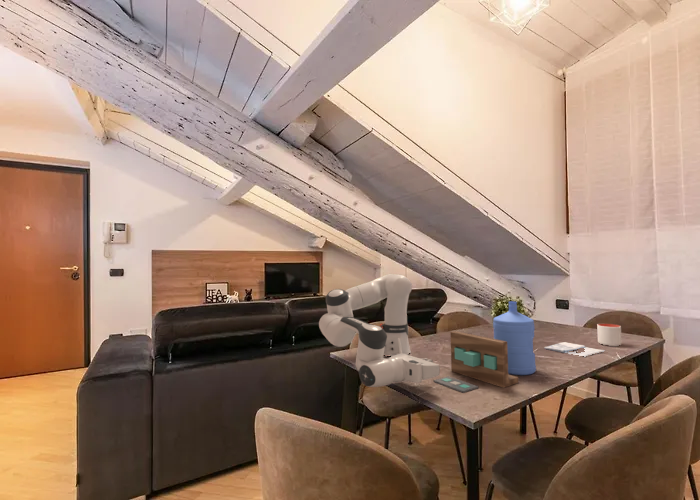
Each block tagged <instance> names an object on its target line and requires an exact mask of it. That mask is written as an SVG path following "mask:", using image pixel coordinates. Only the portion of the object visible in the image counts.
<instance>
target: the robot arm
mask: <svg viewBox="0 0 700 500" xmlns="http://www.w3.org/2000/svg"><path fill="white" fill-rule="evenodd" d="M412 288H413V285H412V281H411V280H410V278H408V277H407V276H405V275H403V274H397V273H396V274H395V273H388V274H385V275H382V276H379V277H378V278H375V279H373V280H371V281H368V282H364V283H362V284H359V285H355V286H352V287H350V288H347V289H346V290H344V289H341V288H335V289H332V290H330V291H329V292H327V294H326V295H325V304H326V309H327V313H324V314H323V315H322V316H321V317H320V319H319V321H318V327H319V330H320V332H321V334H322V335H323V336H324V337H325V338H326V340H327V341H328V342H329V343H330V344H331V345H333V346H335V347H338V348H341V347H346V346H348V345H349V344H350V343H352V342H353V340H354V338H355V336H356V333H357V335H358V341H357V342H358V344H357V350H356V356H355V369H356V370H357V372H358V375H359V379H360V382H361V383H362V384H363V386H366V387H368V388H379V387H380V388H381V387H385V386H389V385H391V384H392V383H401V382H411V383H416V384H419V383H422V382H423V380H424V381H425V380H430V379H433V378H437V377H439V376H440V373H441V367H440V364H438V363H435V362H433V359H430V358H427V357H425V358H419V357H416V356H413V355H410V354H411V353H412V351H411V347H410V343H409V324H408V315H407V311H408V303H409V298H410V294H411V292H412V290H413V289H412ZM384 299H386V303H385V306H384V323H380V324H379V325H375V324H371V323H368V322H366V321H364V320H361V319H358V318H356V317H354V314H353V311H356V310H359V309H362V308H365V307H366V308H367V307H369V306H372V305H375V304H377V303H379V302H380V301H383V300H384ZM409 353H410V354H409ZM383 355H390V356H391V357H388V358H386V357H384V356H383Z"/></svg>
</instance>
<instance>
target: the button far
mask: <svg viewBox="0 0 700 500" xmlns="http://www.w3.org/2000/svg"><path fill="white" fill-rule="evenodd" d="M464 352H466V349H464V348H460V347H456V348H455V359H457V360H461V361H464V358H463V353H464Z"/></svg>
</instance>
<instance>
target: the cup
mask: <svg viewBox="0 0 700 500" xmlns="http://www.w3.org/2000/svg"><path fill="white" fill-rule="evenodd" d="M596 325H597V329H596V330H597V343H598V344H599V343H600V345H601V344H603V345H602V346H605V345H609V346H608V347H620V346H621V345H622V326H621V325H619V324H614V323H597V324H596ZM619 345H620V346H619Z"/></svg>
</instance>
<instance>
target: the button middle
mask: <svg viewBox="0 0 700 500" xmlns="http://www.w3.org/2000/svg"><path fill="white" fill-rule="evenodd" d="M463 358H464V364H465V365H469V366H472V367H474V366H478V365H481V352H477V351H473V350H472V351H468V352H464V353H463Z"/></svg>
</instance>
